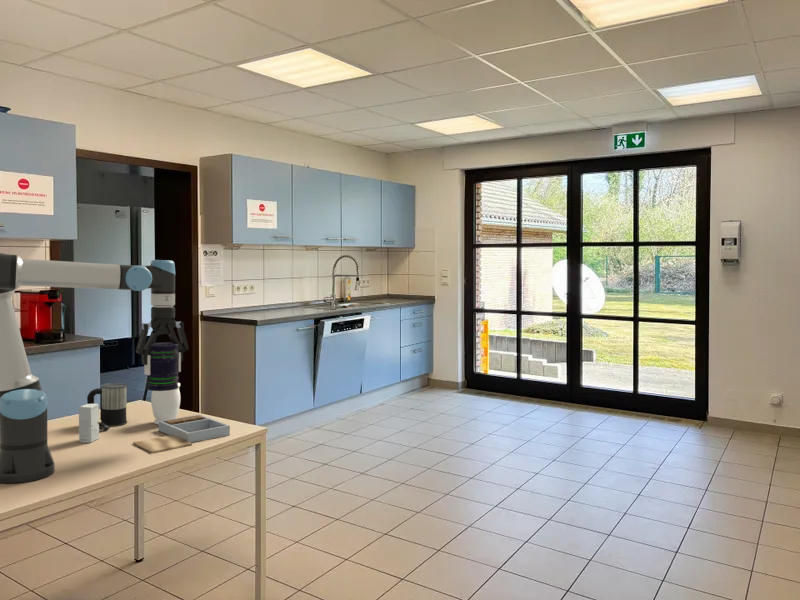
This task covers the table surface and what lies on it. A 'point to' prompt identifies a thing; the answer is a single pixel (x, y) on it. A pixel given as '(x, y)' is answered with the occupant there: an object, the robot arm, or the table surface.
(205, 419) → the tray
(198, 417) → the block
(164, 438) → the mat
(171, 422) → the block
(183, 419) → the block
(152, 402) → the jar
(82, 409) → the skincare box
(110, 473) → the table surface
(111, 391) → the milk frother
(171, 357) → the rusty oil drum
